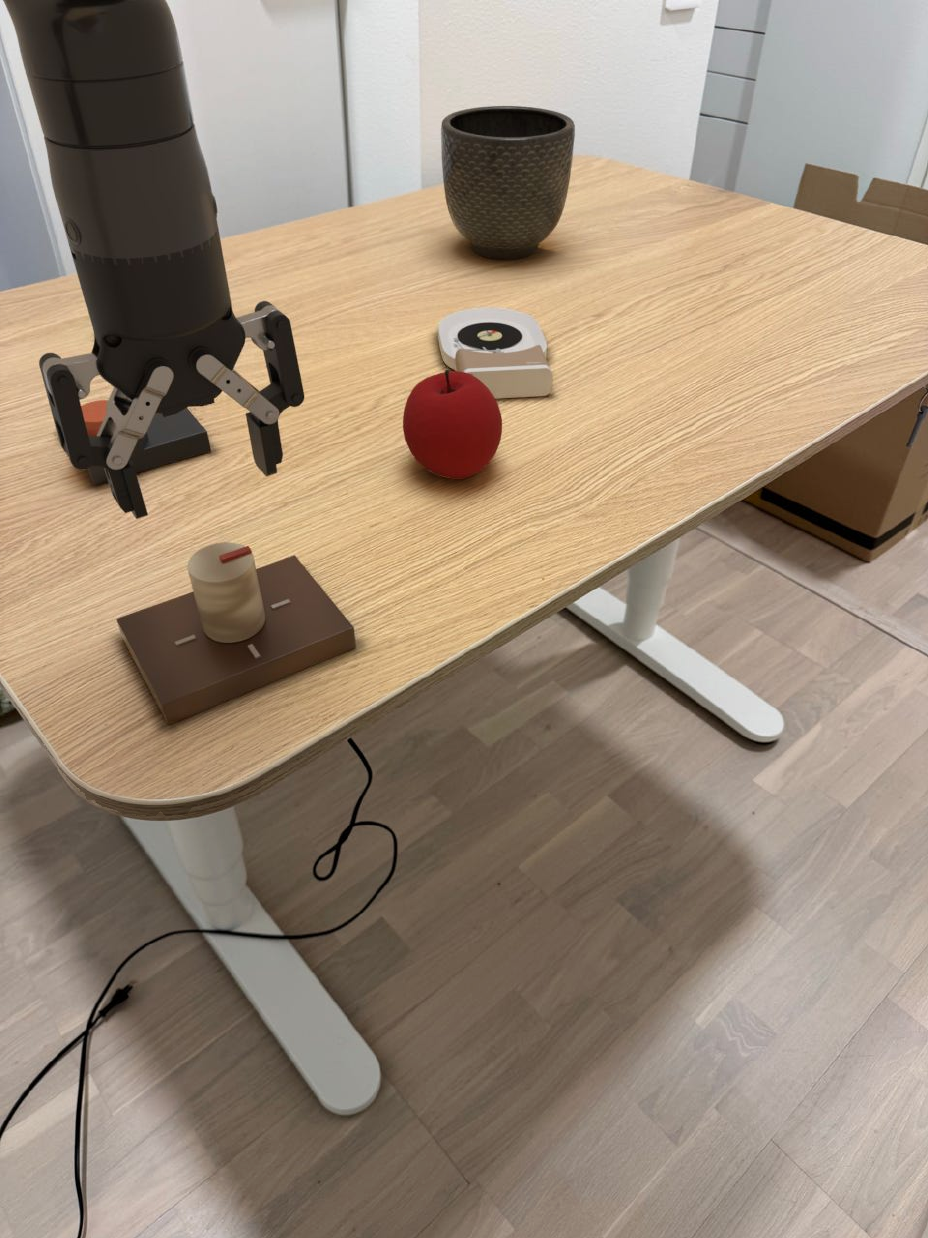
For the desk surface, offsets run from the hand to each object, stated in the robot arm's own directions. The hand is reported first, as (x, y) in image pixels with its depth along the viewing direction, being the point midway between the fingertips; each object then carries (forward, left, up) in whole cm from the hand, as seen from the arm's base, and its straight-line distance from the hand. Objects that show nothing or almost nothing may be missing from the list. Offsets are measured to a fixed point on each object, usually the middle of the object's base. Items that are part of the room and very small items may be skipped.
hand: (203, 489), depth 57 cm
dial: (0, 0, -11) cm, 11 cm away
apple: (+26, +12, -13) cm, 32 cm away
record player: (+42, +29, -13) cm, 53 cm away
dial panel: (0, 0, -13) cm, 13 cm away
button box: (+2, +32, -13) cm, 34 cm away
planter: (+62, +56, -13) cm, 84 cm away
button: (-1, +29, -10) cm, 30 cm away
